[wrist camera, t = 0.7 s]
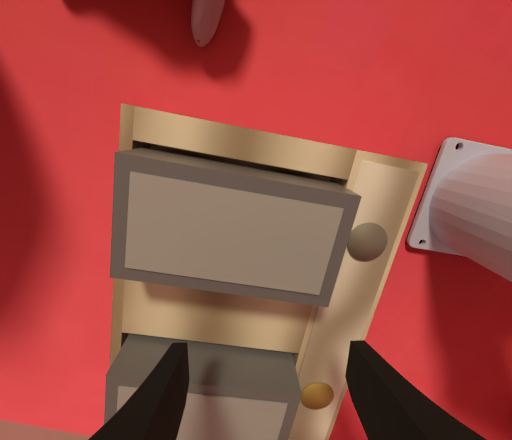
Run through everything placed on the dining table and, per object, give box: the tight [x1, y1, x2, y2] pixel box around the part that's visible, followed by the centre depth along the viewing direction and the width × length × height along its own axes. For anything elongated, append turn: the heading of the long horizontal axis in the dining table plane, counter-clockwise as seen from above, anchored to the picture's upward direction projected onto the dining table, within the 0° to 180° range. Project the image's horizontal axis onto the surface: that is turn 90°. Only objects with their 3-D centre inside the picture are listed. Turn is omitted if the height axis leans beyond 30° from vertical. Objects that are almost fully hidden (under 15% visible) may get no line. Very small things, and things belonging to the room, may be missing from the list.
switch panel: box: [110, 104, 428, 440], centre depth 20 cm, size 16×22×4 cm
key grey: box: [110, 148, 362, 307], centre depth 15 cm, size 11×6×4 cm, turn 80°
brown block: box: [104, 333, 302, 440], centre depth 18 cm, size 11×6×4 cm, turn 80°
